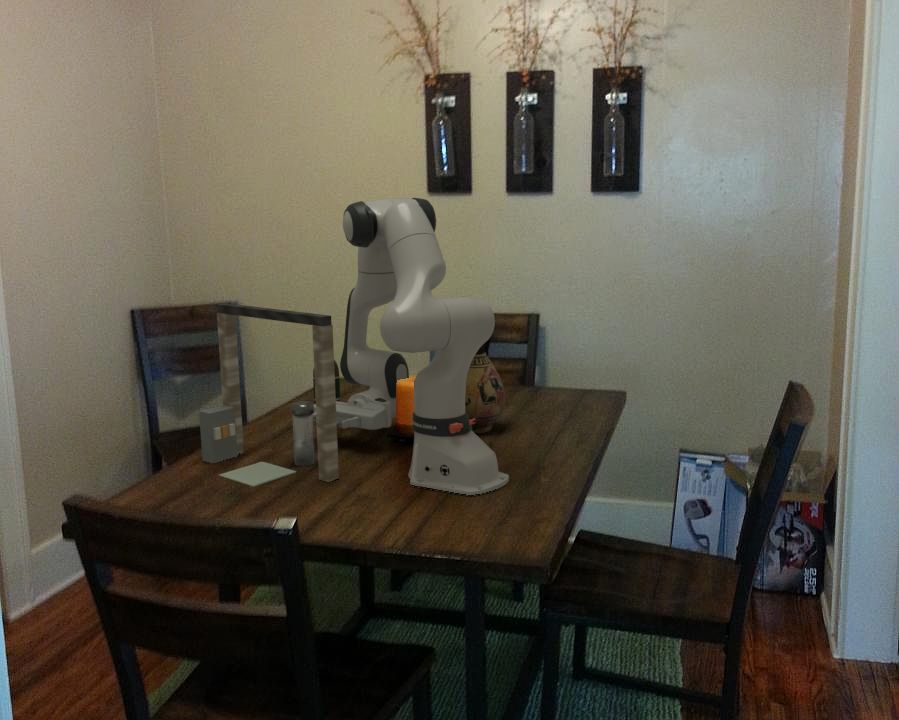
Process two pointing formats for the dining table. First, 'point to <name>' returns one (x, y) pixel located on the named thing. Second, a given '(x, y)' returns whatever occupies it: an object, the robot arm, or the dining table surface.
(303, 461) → the frosted spice bottle
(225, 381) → the arch
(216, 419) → the breaker box
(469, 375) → the ceramic jug
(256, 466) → the sage mat
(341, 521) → the dining table surface
